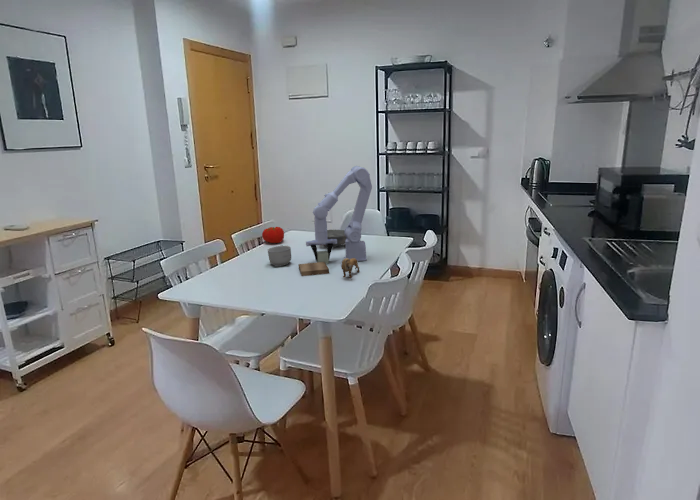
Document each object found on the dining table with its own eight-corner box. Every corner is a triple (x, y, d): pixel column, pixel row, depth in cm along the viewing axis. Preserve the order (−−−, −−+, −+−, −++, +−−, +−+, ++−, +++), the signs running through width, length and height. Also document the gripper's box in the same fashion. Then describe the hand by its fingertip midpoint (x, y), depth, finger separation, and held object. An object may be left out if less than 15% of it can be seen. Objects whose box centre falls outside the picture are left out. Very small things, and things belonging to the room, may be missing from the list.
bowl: (356, 244, 249) (356, 230, 247) (338, 252, 235) (338, 236, 233) (329, 241, 259) (329, 227, 257) (310, 248, 244) (310, 233, 242)
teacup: (287, 268, 210) (286, 251, 208) (265, 267, 213) (263, 250, 211) (296, 259, 224) (295, 243, 222) (275, 259, 226) (274, 243, 224)
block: (326, 260, 220) (326, 250, 219) (328, 263, 215) (328, 253, 214) (316, 261, 219) (316, 251, 218) (318, 264, 214) (317, 254, 213)
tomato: (266, 239, 267) (265, 225, 265) (287, 239, 265) (286, 224, 263) (259, 245, 254) (257, 230, 252) (281, 245, 252) (279, 230, 250)
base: (324, 265, 211) (324, 261, 211) (329, 273, 200) (329, 269, 200) (298, 268, 209) (298, 264, 209) (301, 276, 198) (301, 271, 197)
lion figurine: (351, 280, 189) (351, 259, 187) (339, 280, 191) (338, 259, 189) (361, 270, 203) (360, 250, 201) (349, 269, 205) (349, 250, 202)
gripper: (334, 228, 219) (335, 256, 222) (304, 230, 216) (306, 258, 219) (337, 231, 212) (338, 259, 215) (306, 234, 209) (308, 262, 212)
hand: (322, 259), depth 217 cm, fingers closed on block, 5 cm apart
